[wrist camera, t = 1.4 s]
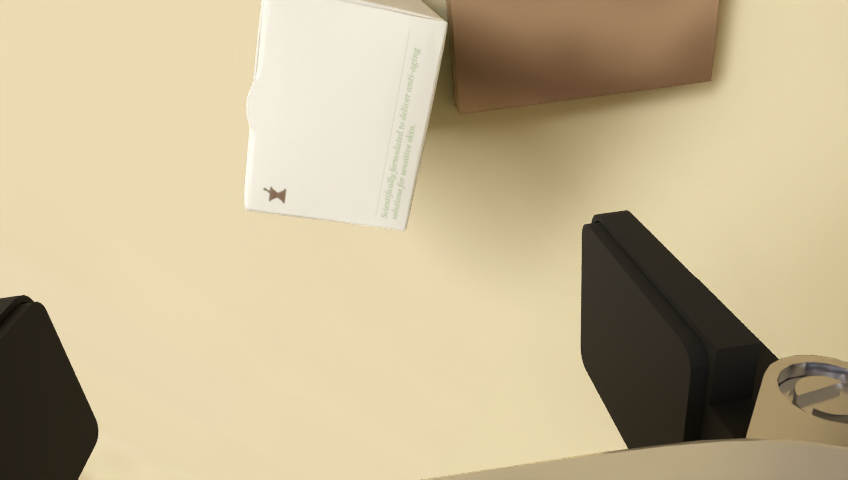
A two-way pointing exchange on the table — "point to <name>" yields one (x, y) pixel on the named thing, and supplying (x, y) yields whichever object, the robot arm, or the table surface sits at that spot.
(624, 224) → the robot arm
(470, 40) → the walnut board
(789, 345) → the table surface
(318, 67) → the skincare box
